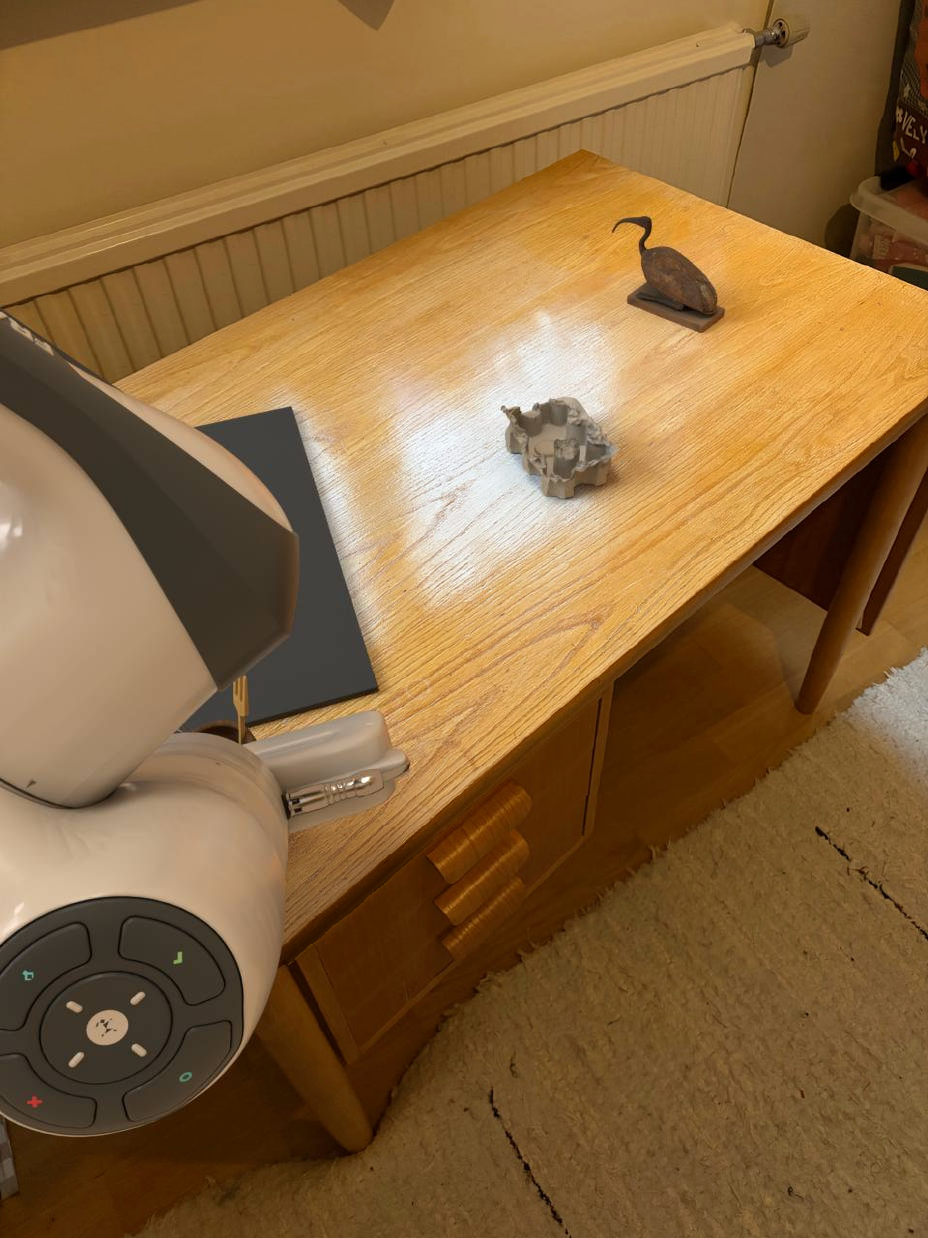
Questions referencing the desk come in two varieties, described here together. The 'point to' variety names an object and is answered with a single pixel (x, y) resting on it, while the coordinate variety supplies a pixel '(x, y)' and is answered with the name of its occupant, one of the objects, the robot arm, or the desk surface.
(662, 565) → the desk surface
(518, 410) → the egg carton
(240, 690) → the utensil holder
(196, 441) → the robot arm
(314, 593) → the desk mat
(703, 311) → the figurine
